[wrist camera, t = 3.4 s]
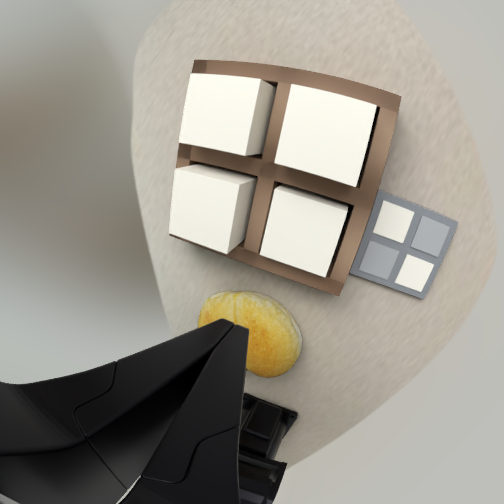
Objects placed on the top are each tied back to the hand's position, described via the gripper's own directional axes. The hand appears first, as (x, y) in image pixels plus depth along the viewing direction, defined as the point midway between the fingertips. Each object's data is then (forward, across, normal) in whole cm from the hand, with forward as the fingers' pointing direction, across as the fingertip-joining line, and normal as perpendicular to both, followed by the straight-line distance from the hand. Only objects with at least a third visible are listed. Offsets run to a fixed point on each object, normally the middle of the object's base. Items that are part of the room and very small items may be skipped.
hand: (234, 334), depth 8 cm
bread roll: (+13, +2, +11) cm, 17 cm away
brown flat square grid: (+13, +3, -3) cm, 13 cm away
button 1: (+12, 0, 0) cm, 12 cm away
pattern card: (+13, -7, 0) cm, 14 cm away
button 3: (+11, +6, 0) cm, 13 cm away
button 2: (+11, 0, -6) cm, 13 cm away
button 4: (+11, +6, -6) cm, 14 cm away
